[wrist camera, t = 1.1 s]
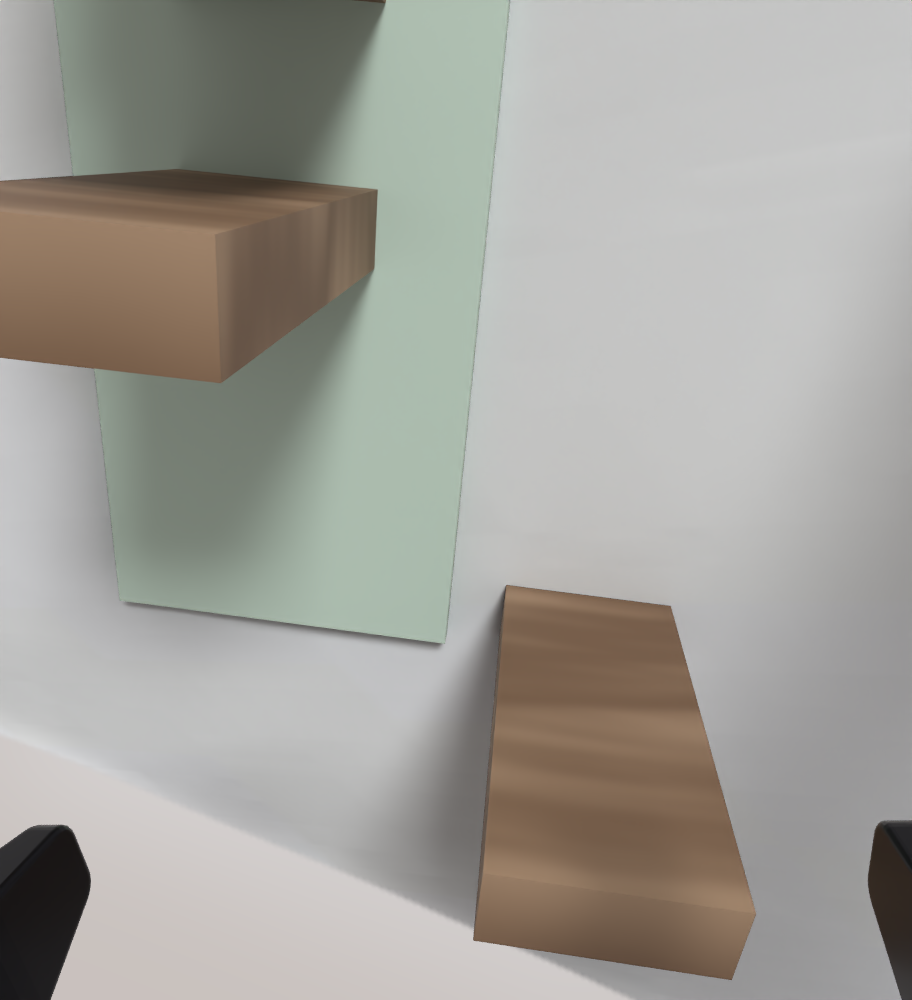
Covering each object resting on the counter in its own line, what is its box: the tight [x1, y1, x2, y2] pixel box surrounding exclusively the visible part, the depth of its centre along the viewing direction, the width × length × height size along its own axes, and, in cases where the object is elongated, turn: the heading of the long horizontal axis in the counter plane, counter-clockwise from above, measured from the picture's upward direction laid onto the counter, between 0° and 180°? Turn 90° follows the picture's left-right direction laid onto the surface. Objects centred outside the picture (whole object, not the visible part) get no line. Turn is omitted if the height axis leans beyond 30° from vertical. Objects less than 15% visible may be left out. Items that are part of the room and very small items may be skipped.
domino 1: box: [0, 169, 378, 383], centre depth 14 cm, size 2×5×10 cm, turn 85°
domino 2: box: [473, 585, 756, 980], centre depth 19 cm, size 2×5×10 cm, turn 85°
